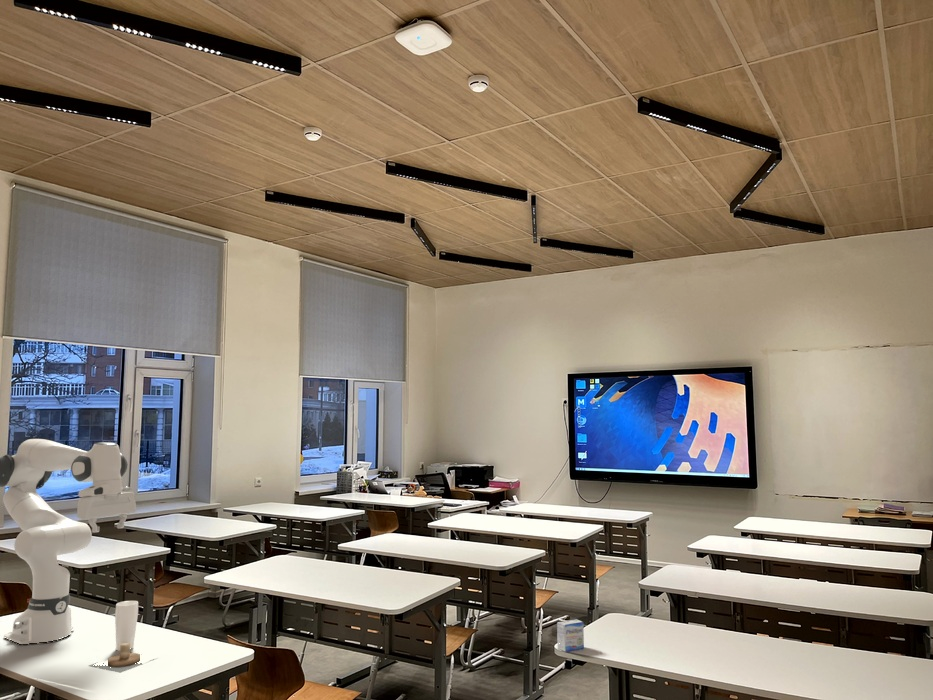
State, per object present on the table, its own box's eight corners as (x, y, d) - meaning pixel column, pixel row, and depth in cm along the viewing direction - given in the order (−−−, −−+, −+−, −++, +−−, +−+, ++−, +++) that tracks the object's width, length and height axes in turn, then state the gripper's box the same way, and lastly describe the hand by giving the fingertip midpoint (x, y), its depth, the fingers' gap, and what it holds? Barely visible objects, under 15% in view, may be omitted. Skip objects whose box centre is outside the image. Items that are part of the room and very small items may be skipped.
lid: (101, 664, 207) (102, 646, 208) (126, 655, 215) (127, 638, 216) (121, 668, 203) (122, 650, 204) (146, 659, 211) (147, 642, 212)
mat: (88, 667, 206) (88, 665, 206) (127, 653, 218) (127, 652, 218) (120, 673, 200) (120, 672, 200) (158, 659, 213) (158, 657, 213)
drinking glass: (120, 654, 217) (123, 606, 219) (108, 650, 221) (111, 603, 222) (140, 648, 223) (142, 602, 225) (128, 645, 226) (131, 599, 228)
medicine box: (565, 652, 219) (564, 625, 220) (557, 648, 223) (556, 621, 224) (584, 648, 223) (583, 621, 224) (576, 645, 227) (575, 618, 228)
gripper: (127, 487, 240) (128, 526, 238) (73, 492, 222) (74, 535, 219) (139, 485, 238) (141, 525, 236) (86, 491, 219) (87, 534, 217)
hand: (108, 530), depth 227 cm, fingers open, 8 cm apart
